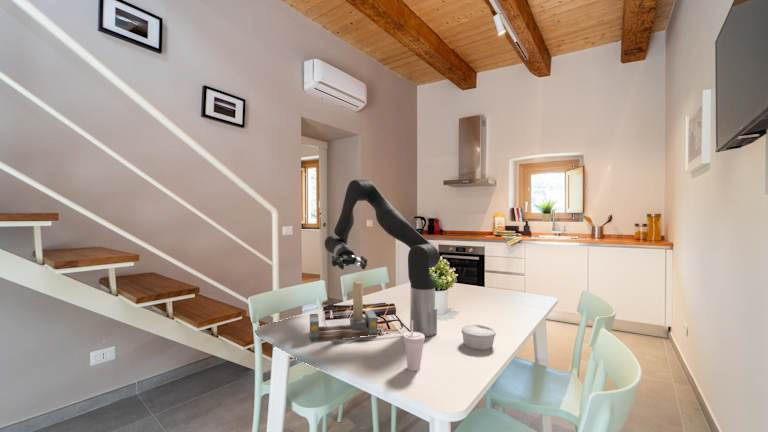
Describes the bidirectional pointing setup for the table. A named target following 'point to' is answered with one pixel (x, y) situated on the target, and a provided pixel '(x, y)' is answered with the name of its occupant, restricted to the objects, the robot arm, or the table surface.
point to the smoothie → (413, 348)
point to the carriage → (357, 307)
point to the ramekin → (478, 337)
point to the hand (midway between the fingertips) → (353, 267)
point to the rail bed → (340, 332)
